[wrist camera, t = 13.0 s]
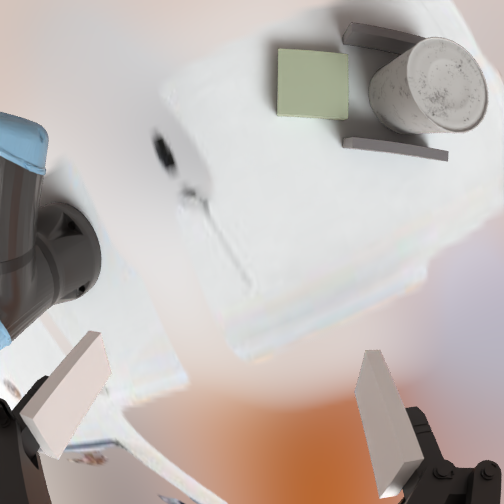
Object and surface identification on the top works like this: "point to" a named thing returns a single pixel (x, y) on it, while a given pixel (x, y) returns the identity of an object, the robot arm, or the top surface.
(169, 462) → the top surface
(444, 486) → the robot arm
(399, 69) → the grey cylindrical piece
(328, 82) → the block
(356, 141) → the parallel grey rails
